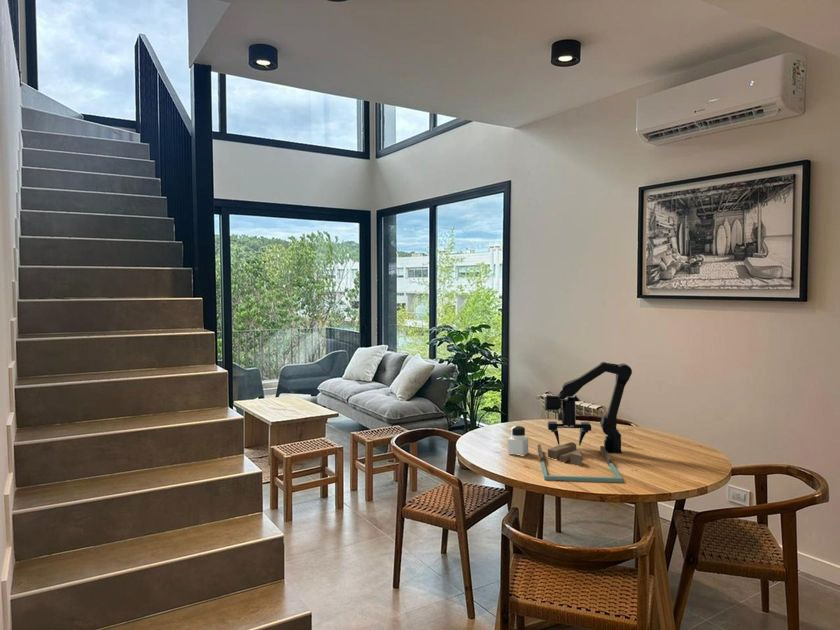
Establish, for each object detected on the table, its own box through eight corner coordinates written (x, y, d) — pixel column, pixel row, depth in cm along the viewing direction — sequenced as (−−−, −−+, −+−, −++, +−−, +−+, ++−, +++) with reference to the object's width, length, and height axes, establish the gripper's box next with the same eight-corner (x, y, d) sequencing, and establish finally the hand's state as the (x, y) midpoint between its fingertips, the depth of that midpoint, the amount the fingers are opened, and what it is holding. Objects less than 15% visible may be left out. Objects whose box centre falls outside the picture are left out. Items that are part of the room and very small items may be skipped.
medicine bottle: (528, 452, 252) (528, 426, 252) (523, 456, 246) (522, 429, 246) (513, 450, 256) (513, 424, 256) (507, 454, 250) (507, 427, 250)
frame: (612, 467, 230) (612, 463, 230) (622, 482, 211) (622, 478, 211) (541, 465, 234) (540, 461, 234) (544, 480, 215) (544, 476, 215)
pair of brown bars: (603, 452, 251) (603, 445, 251) (612, 466, 231) (611, 458, 231) (537, 451, 255) (537, 444, 255) (540, 464, 235) (540, 457, 235)
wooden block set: (546, 446, 243) (570, 439, 255) (546, 459, 243) (570, 451, 255) (580, 454, 230) (604, 446, 242) (580, 468, 231) (604, 459, 242)
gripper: (587, 407, 263) (587, 440, 263) (546, 406, 266) (546, 440, 266) (591, 412, 252) (591, 447, 252) (548, 411, 254) (548, 446, 255)
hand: (569, 445), depth 257 cm, fingers open, 9 cm apart
